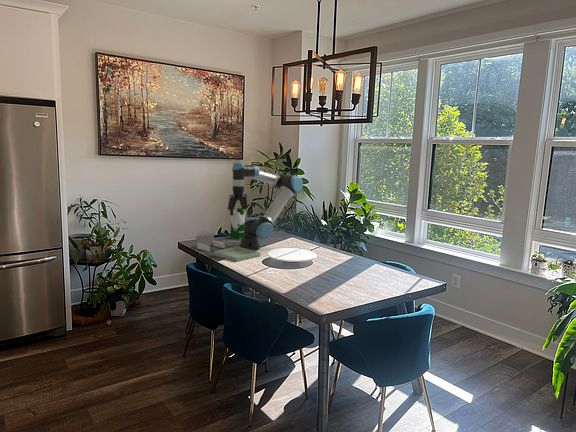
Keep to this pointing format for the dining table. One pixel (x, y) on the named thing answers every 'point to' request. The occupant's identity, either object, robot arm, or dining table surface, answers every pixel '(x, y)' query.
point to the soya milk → (238, 224)
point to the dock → (207, 242)
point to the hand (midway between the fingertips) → (237, 219)
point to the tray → (237, 254)
